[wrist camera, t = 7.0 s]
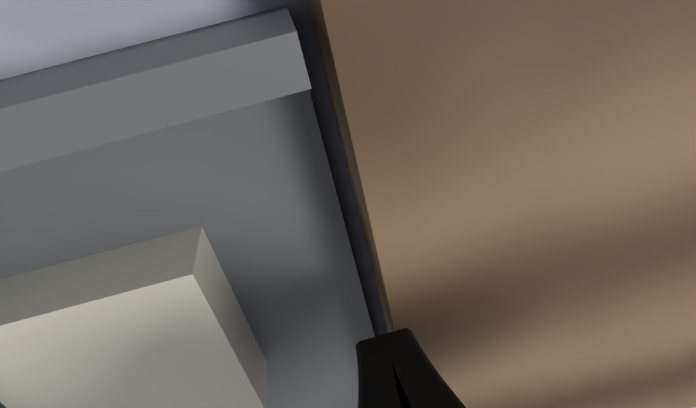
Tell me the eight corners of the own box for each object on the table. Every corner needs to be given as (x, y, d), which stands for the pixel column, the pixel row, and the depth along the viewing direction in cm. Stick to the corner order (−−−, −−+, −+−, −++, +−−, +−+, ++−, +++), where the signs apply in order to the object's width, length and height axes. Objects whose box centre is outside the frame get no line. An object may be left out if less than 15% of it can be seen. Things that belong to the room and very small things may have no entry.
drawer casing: (746, 313, 20) (818, 369, 17) (407, 413, 19) (429, 487, 17) (984, -226, 10) (1236, -282, 7) (296, -51, 9) (311, -44, 7)
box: (392, 404, 18) (414, 478, 16) (139, 479, 18) (120, 566, 16) (286, 5, 10) (296, 31, 7) (-209, 134, 9) (-380, 208, 7)
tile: (75, 469, 13) (95, 409, 15) (267, 414, 13) (266, 361, 15) (-66, 343, 10) (-19, 284, 12) (192, 274, 10) (201, 226, 12)
